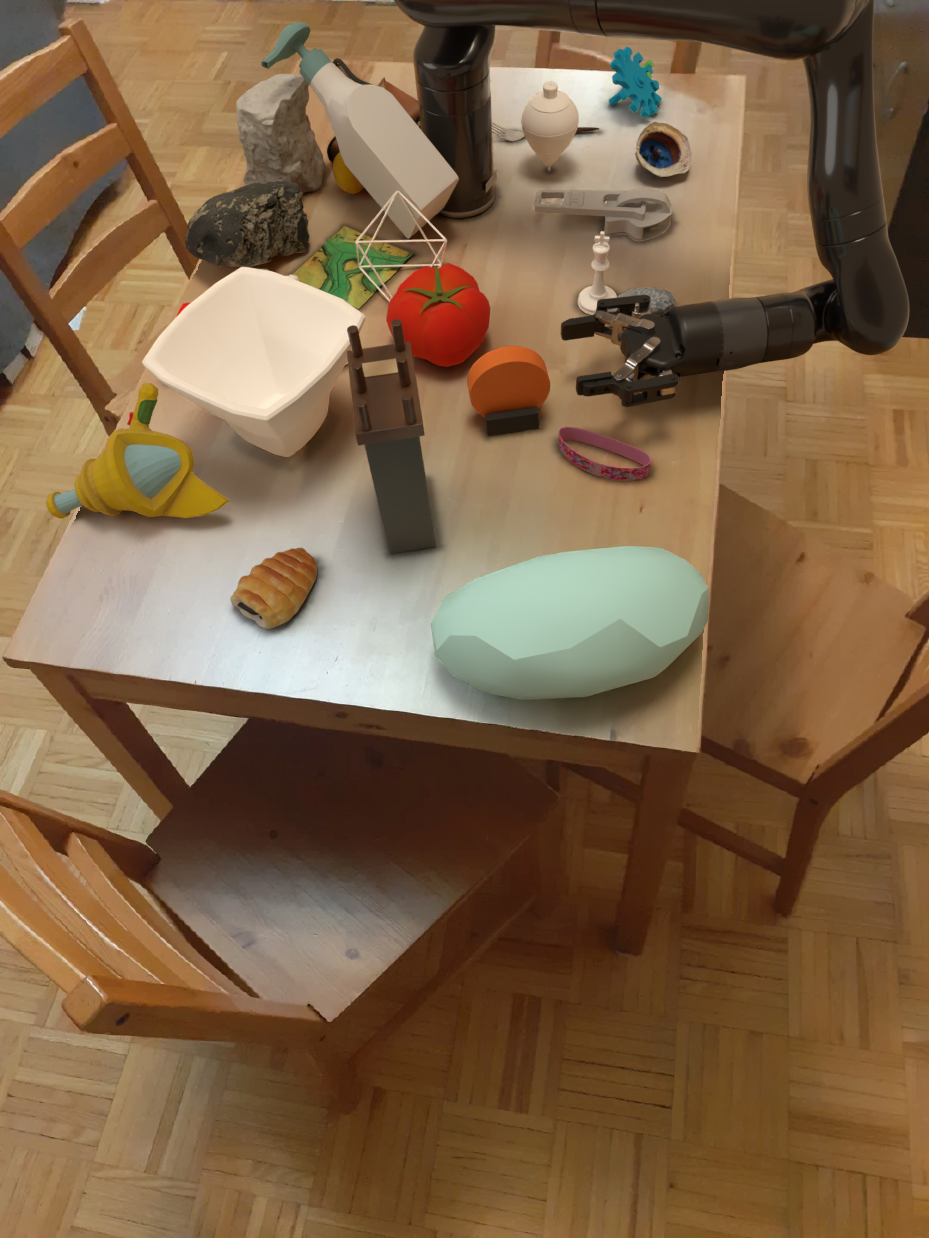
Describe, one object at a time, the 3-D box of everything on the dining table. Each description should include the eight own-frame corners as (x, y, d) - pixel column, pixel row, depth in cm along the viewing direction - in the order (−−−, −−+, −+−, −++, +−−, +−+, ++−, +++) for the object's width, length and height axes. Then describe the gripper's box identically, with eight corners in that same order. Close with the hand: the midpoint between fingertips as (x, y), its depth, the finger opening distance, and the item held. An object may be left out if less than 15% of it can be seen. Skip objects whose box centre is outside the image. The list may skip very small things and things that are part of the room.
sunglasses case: (380, 173, 131) (352, 130, 127) (347, 188, 136) (318, 147, 132) (432, 103, 139) (407, 60, 135) (398, 120, 144) (373, 79, 140)
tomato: (388, 314, 117) (379, 257, 110) (486, 303, 117) (483, 245, 110) (393, 387, 110) (383, 331, 103) (497, 375, 110) (495, 318, 103)
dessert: (637, 115, 125) (624, 160, 130) (645, 136, 121) (631, 181, 125) (693, 126, 127) (678, 169, 131) (703, 147, 122) (687, 191, 127)
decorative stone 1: (284, 155, 136) (260, 52, 123) (336, 172, 133) (317, 69, 121) (242, 195, 132) (213, 94, 119) (295, 214, 129) (271, 112, 116)
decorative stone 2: (675, 766, 88) (766, 633, 78) (423, 725, 82) (487, 573, 72) (640, 664, 99) (716, 536, 89) (416, 621, 93) (470, 477, 83)
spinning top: (586, 163, 131) (590, 77, 120) (559, 193, 128) (561, 107, 117) (539, 148, 133) (539, 63, 123) (511, 178, 130) (509, 92, 120)
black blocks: (531, 395, 109) (531, 379, 106) (539, 428, 106) (539, 413, 104) (480, 403, 108) (479, 387, 106) (487, 436, 106) (486, 420, 104)
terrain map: (344, 224, 126) (344, 227, 127) (288, 276, 122) (289, 279, 122) (413, 252, 122) (413, 255, 123) (358, 307, 118) (359, 310, 118)
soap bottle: (398, 248, 125) (254, 77, 119) (442, 209, 126) (302, 37, 120) (411, 221, 114) (254, 31, 109) (459, 178, 115) (306, -13, 109)
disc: (546, 402, 108) (547, 340, 100) (549, 417, 107) (551, 355, 99) (469, 413, 108) (464, 352, 100) (472, 429, 106) (467, 368, 98)
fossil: (603, 312, 116) (613, 339, 113) (601, 290, 113) (611, 318, 110) (669, 295, 115) (680, 322, 113) (669, 272, 112) (680, 299, 110)
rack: (412, 353, 88) (406, 316, 84) (424, 436, 82) (419, 399, 79) (349, 362, 88) (340, 325, 84) (357, 445, 82) (349, 410, 79)
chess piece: (614, 317, 114) (621, 248, 106) (574, 314, 115) (578, 245, 107) (619, 290, 117) (626, 220, 108) (580, 287, 118) (584, 217, 109)
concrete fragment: (239, 193, 130) (192, 285, 128) (206, 139, 120) (155, 238, 118) (329, 219, 126) (283, 314, 124) (303, 166, 116) (252, 268, 114)
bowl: (302, 518, 101) (271, 430, 89) (169, 452, 107) (124, 362, 95) (397, 406, 109) (381, 312, 97) (269, 351, 115) (238, 255, 103)
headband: (548, 459, 103) (548, 445, 102) (563, 435, 105) (563, 421, 103) (639, 491, 100) (641, 477, 98) (653, 466, 102) (655, 452, 100)
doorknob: (391, 201, 127) (400, 177, 132) (369, 143, 122) (379, 119, 127) (342, 216, 129) (352, 191, 135) (318, 159, 124) (329, 135, 129)
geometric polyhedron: (419, 242, 124) (418, 180, 116) (465, 290, 119) (468, 230, 111) (338, 276, 120) (331, 215, 112) (383, 327, 116) (379, 267, 108)
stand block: (426, 481, 103) (407, 359, 88) (436, 547, 98) (418, 430, 83) (381, 488, 103) (355, 367, 87) (389, 554, 98) (362, 438, 83)
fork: (599, 137, 134) (600, 124, 132) (489, 143, 135) (488, 130, 133) (598, 127, 135) (599, 113, 133) (489, 133, 136) (488, 119, 134)
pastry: (287, 546, 100) (279, 525, 96) (335, 574, 97) (329, 554, 94) (228, 609, 96) (218, 589, 93) (277, 640, 94) (268, 621, 90)
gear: (647, 123, 132) (607, 59, 128) (616, 146, 136) (577, 84, 133) (676, 93, 138) (638, 31, 134) (645, 116, 142) (608, 56, 139)
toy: (-10, 440, 96) (53, 573, 100) (149, 371, 91) (211, 513, 94) (47, 431, 106) (103, 553, 109) (194, 368, 101) (249, 498, 104)
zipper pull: (538, 200, 127) (538, 171, 123) (671, 204, 125) (676, 175, 121) (532, 238, 123) (532, 209, 120) (670, 243, 121) (674, 213, 117)
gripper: (702, 265, 102) (556, 287, 101) (740, 356, 94) (583, 380, 94) (692, 319, 108) (555, 340, 108) (727, 408, 101) (580, 430, 101)
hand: (568, 358), depth 101 cm, fingers open, 8 cm apart
